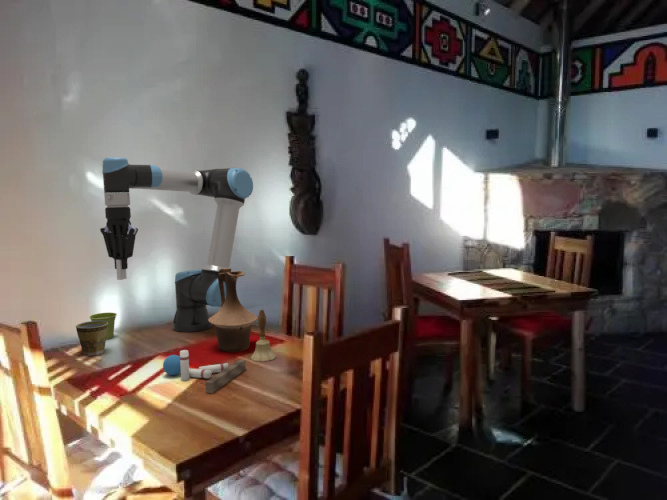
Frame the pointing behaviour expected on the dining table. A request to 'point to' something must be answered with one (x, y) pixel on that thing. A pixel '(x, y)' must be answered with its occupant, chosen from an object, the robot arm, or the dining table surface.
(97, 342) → the ceramic cup
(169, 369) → the ball
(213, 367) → the pin
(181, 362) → the pin
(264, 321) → the hand bell
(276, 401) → the dining table surface
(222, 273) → the pitcher
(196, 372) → the front pin
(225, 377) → the back wall
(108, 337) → the plant pot
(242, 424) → the dining table surface
